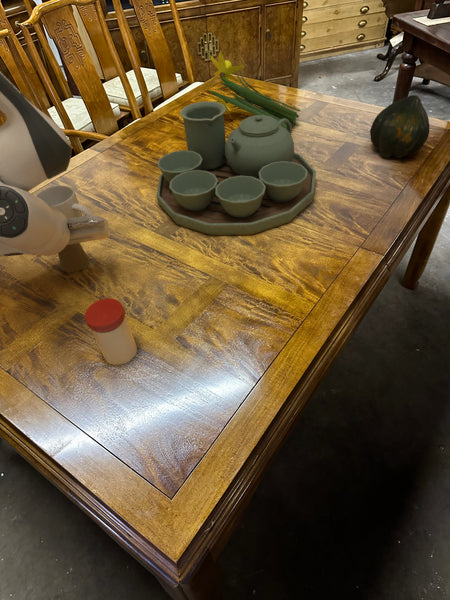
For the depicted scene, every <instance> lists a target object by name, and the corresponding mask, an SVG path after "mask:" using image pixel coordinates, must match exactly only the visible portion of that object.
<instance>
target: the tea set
mask: <svg viewBox="0 0 450 600" xmlns="http://www.w3.org/2000/svg"><path fill="white" fill-rule="evenodd" d="M225 111H226V112H227V110H226V108H225V106H224V105H222V104H221V103H218V102H212V100H211V101H198V102H194V103H190V104H188V105H186V106H184V107H182V109H181V110H180V111H179V114H180V116H181V118H182V122H183V127H184V134H185V141H186V148H187V150H186V149H185V150H176V151H172V152H169V153H167V154H164V155H163V156H161V157H160V158H159V159H158V161H157V167H158V168H159V170H160V172H161V174H160V175H159V176H158V183H157V190H156V191H157V192H156V200H157V203H158V204H159V206H160V207H161V208H162V209H163V210H164V212H165V213H166V214H167V215H168V216H169V217H170V218H171V220H172V221H173V222H174V223H175V224H176V225H178V226H182V227H184V228H188V229H190V230H194V231H197V232H199V233H202V234H206V235H208V236H243V235H244V236H245V235H246V236H247V235H250V236H251V235H254V234H257V233H260V232H264V231H267V230H269V229H274V228H276V227H279V226H283V225H287V224H288V223H290V222H292V220H294V219H295V218H296V217H297V216H298V215H299V214H300V213H301V212H302V211H304V210H305V209H306V208H307V207H308V206H309V205H310V204H311V203H312V202H313V200H314V195H315V186H316V175H317V170H315V168H313V167H312V165H311V164H310V163H309V162H308V161H307V160H306V158H305V157H303V155H301V154H300V153H297V152H295V142H294V139H293V136H292V132H293V126H291V123H290V121H289V120H287V119H285V118H283V119H281V120H279V121H277V120H276V119H274V118H273V117H271V116H266V115H251V116H248V117H246V118H244V119H243V120H241V122H240V123H239V126H238V127H237V128H235V129H233V130H232V131H231V133H230V134H229V135H228V137H226V129H225V116H224V115H225V114H224V112H225ZM283 123H286V125H287V130H286V129H285V128H284V127H282V124H283ZM226 139H227V140H226Z"/></svg>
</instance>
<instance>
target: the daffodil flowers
mask: <svg viewBox="0 0 450 600" xmlns="http://www.w3.org/2000/svg"><path fill="white" fill-rule="evenodd" d="M209 57H210V61H211V62H212V64H213V65H214V67H215V68H216V69H217V70H216V71H215V72H214V73H213V75H214V77H216V78H219V79H221V81H222V82H220V84H221V85H222V87H220V88H217V89H216V91H213V90H211V89H210V90H209V89H208V90H207V92H208V93H210V94H208V93H205V95H206V97H207V96H208V97H210V98H211V99H213V100H214V101H212V100H211V101H212V102H218V103H221V104H222V105H224V106H225V108H226V111H225V112H224V115H225V114H226V113H228V115H229V116H231V113H230V112H231V111H237V110H242V111H245V112H247V113H249V114H251V115H252V116H255V115H266V116H271V117H273V118H274V119H276V120H277V121H279V120H281V119H283V118H285V119H287V120H289V121H290V123H291V126H292V127H293V126H295V125H296V124H297V118H298V119H299V118H300V115H299V114H298V112H301V109H298V108H296V107H294V106H292V105H290V104H287V103H285V102H283V101H279V100H277V99H275V98H272V97H270V96H267V95H265V94H263V93H262V92H260V91H258V90H257V89H255V88H254V87H253V86H252V85H250V84H249V83H248V82H247V81H246V80H245V77H244V76H243V75H242V71H241V69H242V68H244V67H245V65H244V64H241V65H235V66H233V63H232V62H231V61H230V60H228V59H225V58H224V55H223V53H222V50H220V51H219V54H218V58H217V59H218V61H217V60H216V59H215V58H214V57H213V56H212V55H211V54H209ZM238 71H239V73H240V76H239V74H238V73H237V72H238ZM234 73H235V75H236V77H235V76H234V75H233V74H234ZM240 77H241V78H240ZM237 83H239V84H237ZM240 84H241V85H240ZM226 88H227V89H228V90H230V91H232V92H231V95H232V96H233V97H229V96H226V95H224V94H222V93H219V92H217V91H219V90H222V89H226ZM211 94H212V95H211ZM228 104H231V105H232V106H231V107H230V108H231V109H230V108H229V106H228ZM233 108H235V109H233ZM282 127H284V128H285V129H286V130H287V125H286V123H283V124H282Z"/></svg>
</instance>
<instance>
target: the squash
mask: <svg viewBox="0 0 450 600" xmlns="http://www.w3.org/2000/svg"><path fill="white" fill-rule="evenodd" d="M429 135H430V120H429V116H428V113H427V111H426V109H425V108H424V106H423V103H422V100H421V99H420V97H419V95H417V94H416V95H408V96H405V97H403V98H401V99H398V100H396V101H394V102H393V103H390V104H389V105H388V106H386V107H385V108H383V109H382V110H381V111H380V112H379V113H378V114H377V115H376V117H375V118H374V120H373V122H372V124H371V126H370V129H369V136H370V142H371V143H372V145H373V147H374V148H375V149H377V150H379V153H380V155H381V156H382V157H383V158H392V156H393V157H394V158H395V159H401V158H404V157H405V156H410V155H413V154H416V153H417V152H418V151H419V150H420V149H421V148H422V147H423V146H424V145H425V143H426V141H427V140H428V138H429Z"/></svg>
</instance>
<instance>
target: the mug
mask: <svg viewBox="0 0 450 600" xmlns="http://www.w3.org/2000/svg"><path fill="white" fill-rule="evenodd" d="M35 196H37V197H38V198H40V199H41V200H43V201H44V202H45V203H47V204H49V205H51V206H52V207H54V208H55V209H57V210H58V211H60V212H61V213H63V214H64V215H65V217H66V218H67V219H69V218H76V217H82V216H88V215H93V212H92V211H91V210H90V209H89V208H88V207H86V206H85V205H84V204H81V203H79V199H78V197H77V195H76V192H75V190H74V189H73V188H72V187H70V186H67V185H53V186H49V187H46V188H44V189H42V190H41V191H39V192H38V193H37V194H35Z"/></svg>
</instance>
